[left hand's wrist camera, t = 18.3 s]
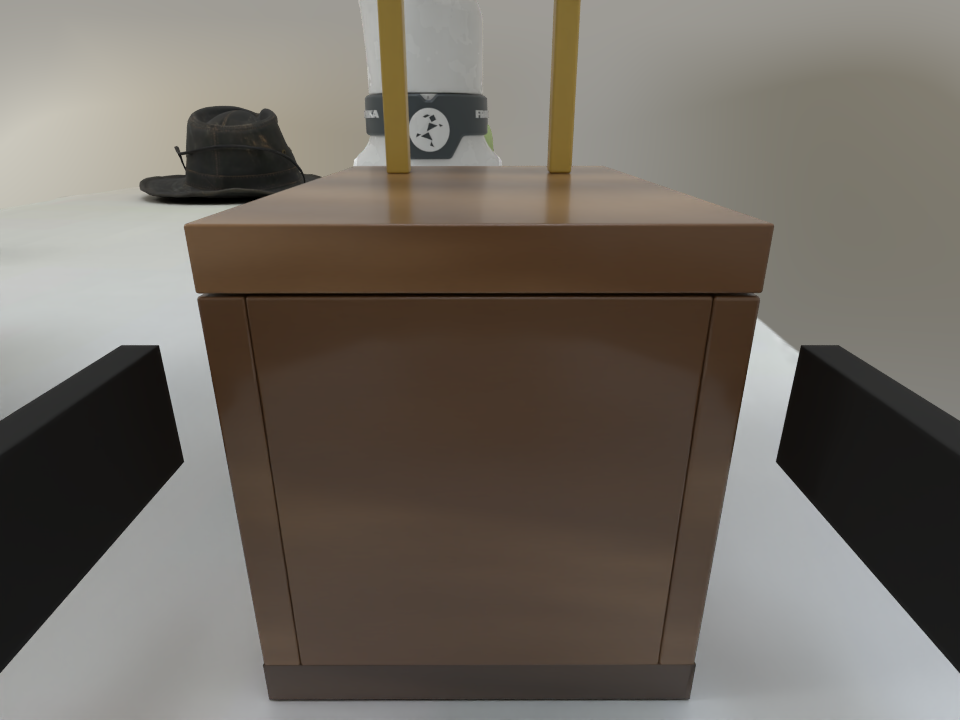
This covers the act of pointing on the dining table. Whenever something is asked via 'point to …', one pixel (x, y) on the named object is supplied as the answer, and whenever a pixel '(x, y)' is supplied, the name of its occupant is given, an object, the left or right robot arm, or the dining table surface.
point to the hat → (231, 157)
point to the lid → (479, 217)
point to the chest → (478, 485)
